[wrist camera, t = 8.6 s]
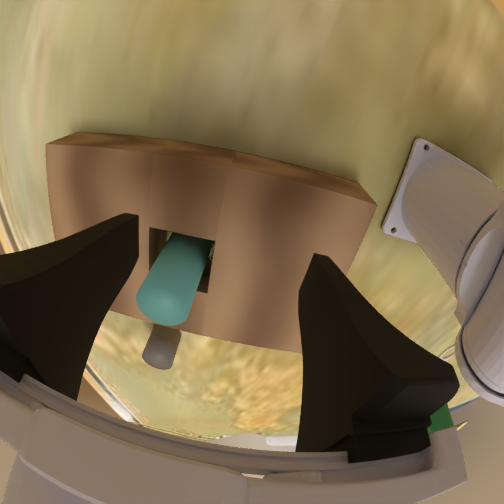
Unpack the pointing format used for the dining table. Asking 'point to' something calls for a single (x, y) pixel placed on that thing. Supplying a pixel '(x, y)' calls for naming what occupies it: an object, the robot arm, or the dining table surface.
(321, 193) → the walnut hole block
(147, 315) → the teal pin
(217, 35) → the dining table surface
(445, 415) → the beverage can
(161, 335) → the charcoal stub
